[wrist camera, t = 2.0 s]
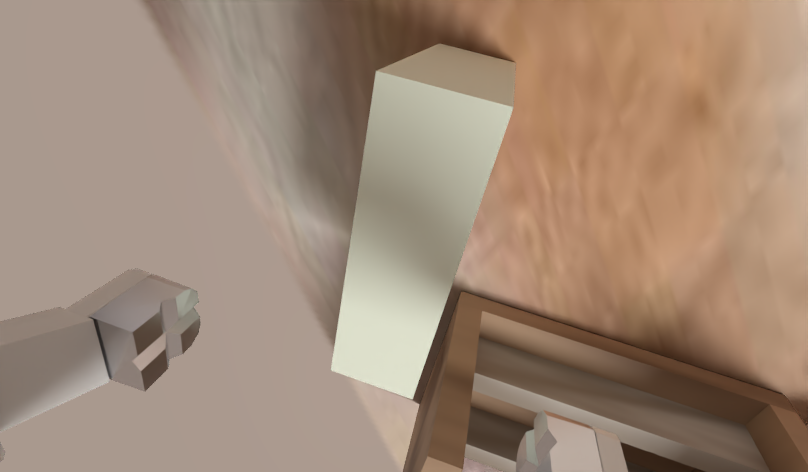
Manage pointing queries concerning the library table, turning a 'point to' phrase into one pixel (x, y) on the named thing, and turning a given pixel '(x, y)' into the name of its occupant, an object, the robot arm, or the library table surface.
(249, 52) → the library table surface
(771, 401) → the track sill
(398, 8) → the library table surface
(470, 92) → the pale green rectangular block
